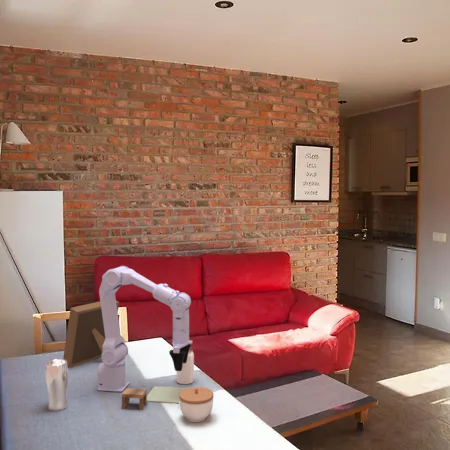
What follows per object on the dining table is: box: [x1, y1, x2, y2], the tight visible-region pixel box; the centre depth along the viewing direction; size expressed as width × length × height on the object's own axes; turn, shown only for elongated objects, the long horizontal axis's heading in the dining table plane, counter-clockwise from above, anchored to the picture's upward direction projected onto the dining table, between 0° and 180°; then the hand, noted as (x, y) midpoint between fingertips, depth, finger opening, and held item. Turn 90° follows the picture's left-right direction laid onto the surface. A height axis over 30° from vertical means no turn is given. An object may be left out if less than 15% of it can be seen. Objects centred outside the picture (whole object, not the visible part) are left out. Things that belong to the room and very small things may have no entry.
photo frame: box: [62, 300, 120, 369], centre depth 197 cm, size 15×22×25 cm
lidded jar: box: [179, 386, 214, 423], centre depth 148 cm, size 11×11×9 cm
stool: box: [121, 387, 148, 411], centre depth 156 cm, size 7×5×5 cm, turn 82°
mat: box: [147, 385, 187, 405], centre depth 165 cm, size 12×12×1 cm
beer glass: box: [45, 358, 69, 412], centre depth 155 cm, size 7×7×15 cm
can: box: [176, 347, 195, 385], centre depth 177 cm, size 6×6×12 cm
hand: (180, 366), depth 165 cm, fingers open, 7 cm apart
